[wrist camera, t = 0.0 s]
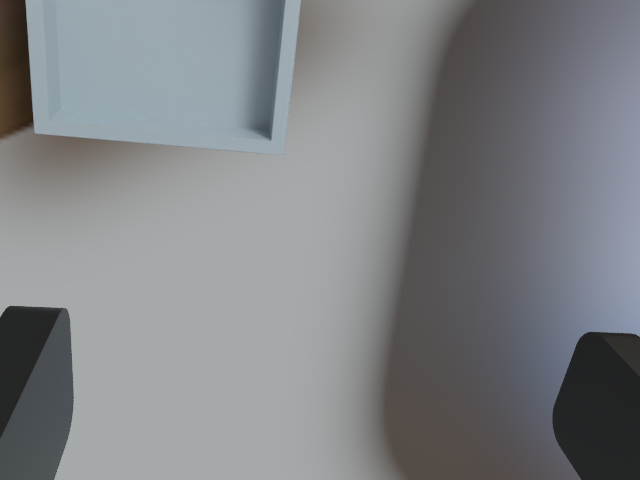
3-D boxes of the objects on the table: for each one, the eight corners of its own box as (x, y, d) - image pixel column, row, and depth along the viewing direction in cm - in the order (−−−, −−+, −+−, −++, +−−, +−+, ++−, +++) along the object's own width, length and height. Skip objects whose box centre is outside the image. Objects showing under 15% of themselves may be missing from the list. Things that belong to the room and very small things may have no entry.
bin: (34, -152, 30) (14, -162, 27) (306, -108, 32) (313, -113, 30) (49, 119, 36) (34, 133, 33) (280, 140, 38) (283, 155, 35)
